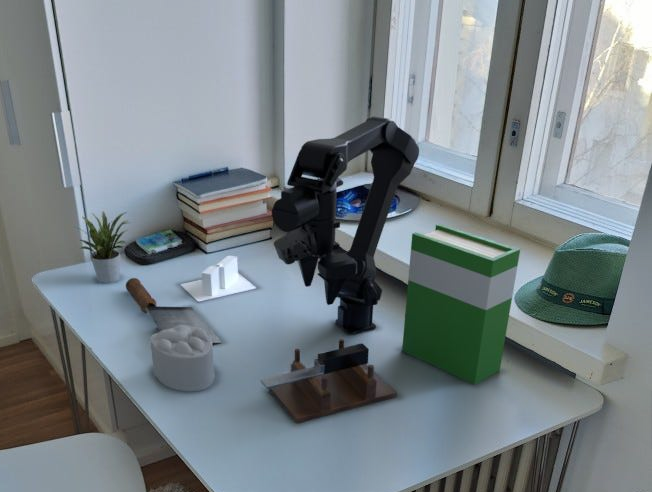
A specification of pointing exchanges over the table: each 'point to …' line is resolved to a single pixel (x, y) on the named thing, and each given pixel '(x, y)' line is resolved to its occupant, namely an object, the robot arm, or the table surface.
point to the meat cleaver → (166, 311)
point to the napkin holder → (219, 281)
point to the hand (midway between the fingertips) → (318, 295)
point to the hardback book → (459, 301)
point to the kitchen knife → (323, 365)
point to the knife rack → (331, 391)
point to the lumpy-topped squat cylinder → (183, 358)
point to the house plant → (105, 249)
